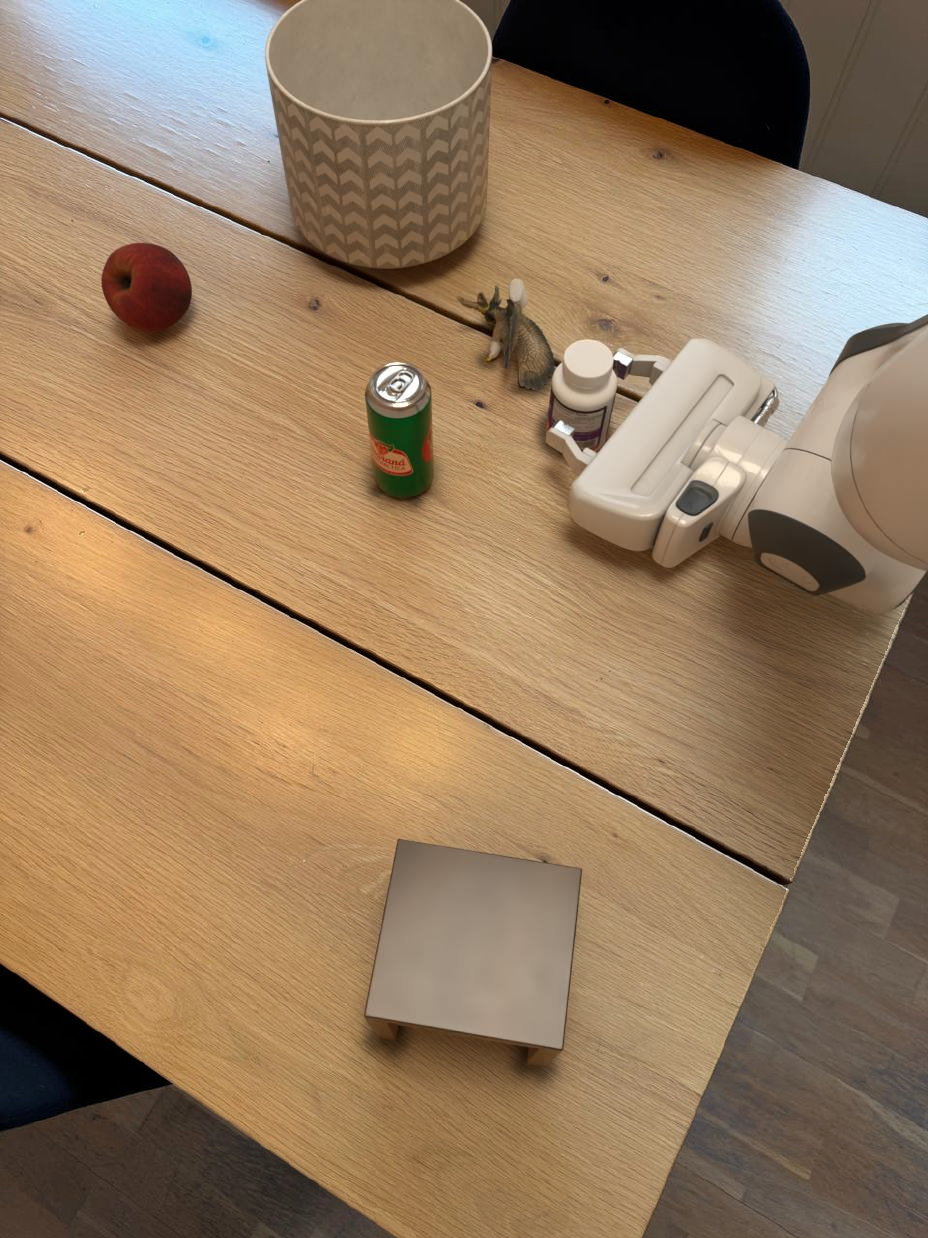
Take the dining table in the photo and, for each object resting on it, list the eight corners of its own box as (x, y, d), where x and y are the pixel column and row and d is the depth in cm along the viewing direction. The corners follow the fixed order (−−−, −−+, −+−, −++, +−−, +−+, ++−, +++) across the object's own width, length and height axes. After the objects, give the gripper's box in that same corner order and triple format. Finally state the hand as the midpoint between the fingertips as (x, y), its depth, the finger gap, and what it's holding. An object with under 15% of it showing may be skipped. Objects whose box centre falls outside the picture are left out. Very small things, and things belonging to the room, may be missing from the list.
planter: (342, 138, 107) (323, -41, 90) (513, 185, 104) (524, 8, 87) (261, 260, 98) (224, 87, 82) (443, 315, 95) (441, 146, 79)
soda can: (362, 481, 87) (349, 388, 76) (399, 443, 88) (392, 347, 78) (408, 511, 85) (402, 421, 75) (445, 472, 87) (444, 379, 76)
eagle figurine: (438, 337, 93) (492, 389, 88) (469, 263, 89) (527, 314, 84) (500, 346, 98) (553, 396, 93) (531, 276, 94) (589, 325, 89)
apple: (100, 314, 95) (72, 247, 88) (171, 275, 97) (149, 207, 90) (144, 361, 92) (118, 296, 85) (215, 319, 95) (196, 253, 88)
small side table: (562, 910, 70) (582, 868, 59) (544, 1066, 66) (563, 1051, 55) (406, 885, 71) (397, 838, 60) (377, 1037, 66) (363, 1016, 56)
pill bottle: (566, 399, 91) (578, 321, 82) (617, 428, 90) (635, 351, 81) (533, 439, 89) (541, 363, 80) (585, 469, 87) (599, 395, 79)
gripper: (801, 365, 82) (652, 290, 85) (673, 540, 74) (516, 449, 77) (778, 415, 87) (640, 343, 91) (657, 583, 80) (511, 496, 83)
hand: (582, 393), depth 84 cm, fingers open, 8 cm apart
